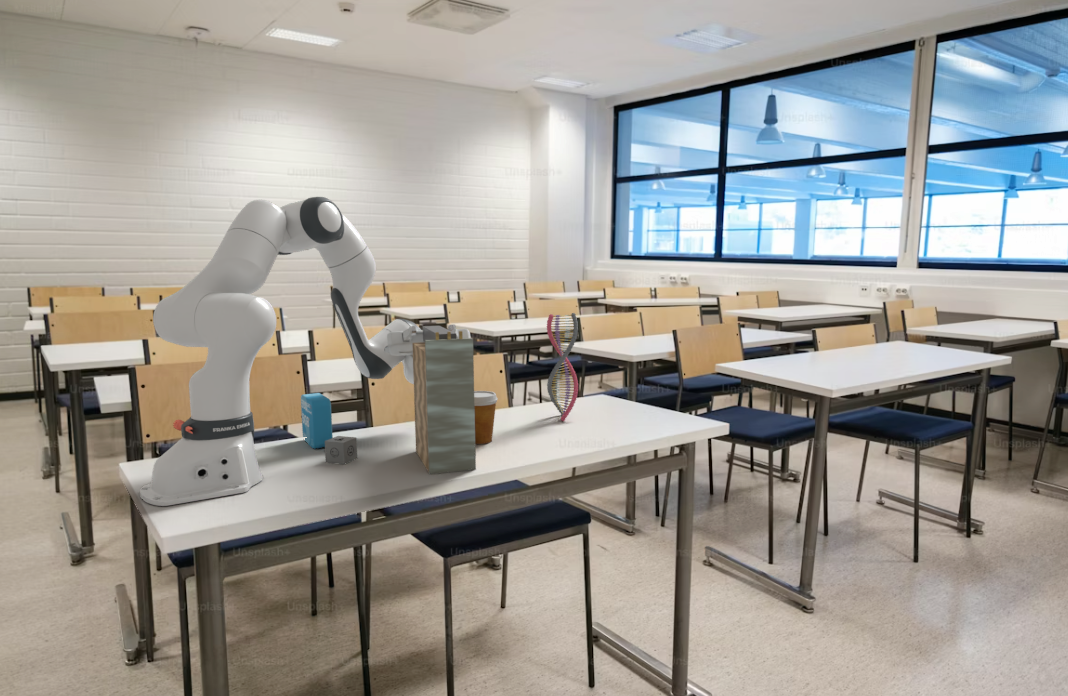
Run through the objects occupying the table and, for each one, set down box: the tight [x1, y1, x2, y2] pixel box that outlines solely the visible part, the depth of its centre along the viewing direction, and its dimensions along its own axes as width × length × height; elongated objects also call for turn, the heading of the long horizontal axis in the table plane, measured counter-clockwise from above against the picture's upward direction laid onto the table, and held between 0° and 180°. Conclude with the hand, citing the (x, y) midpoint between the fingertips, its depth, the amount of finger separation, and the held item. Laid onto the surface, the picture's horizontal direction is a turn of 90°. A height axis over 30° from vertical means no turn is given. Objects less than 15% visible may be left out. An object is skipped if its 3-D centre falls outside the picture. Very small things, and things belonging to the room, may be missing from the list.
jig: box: [412, 331, 477, 475], centre depth 157 cm, size 19×10×30 cm, turn 18°
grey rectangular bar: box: [422, 325, 456, 342], centre depth 158 cm, size 20×4×4 cm, turn 18°
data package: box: [300, 392, 334, 450], centre depth 173 cm, size 12×4×12 cm, turn 31°
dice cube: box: [324, 435, 358, 465], centre depth 159 cm, size 5×5×5 cm
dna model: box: [546, 312, 579, 422], centre depth 198 cm, size 9×9×30 cm
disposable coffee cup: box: [474, 390, 499, 445], centre depth 174 cm, size 10×10×12 cm
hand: (433, 328), depth 164 cm, fingers open, 8 cm apart
